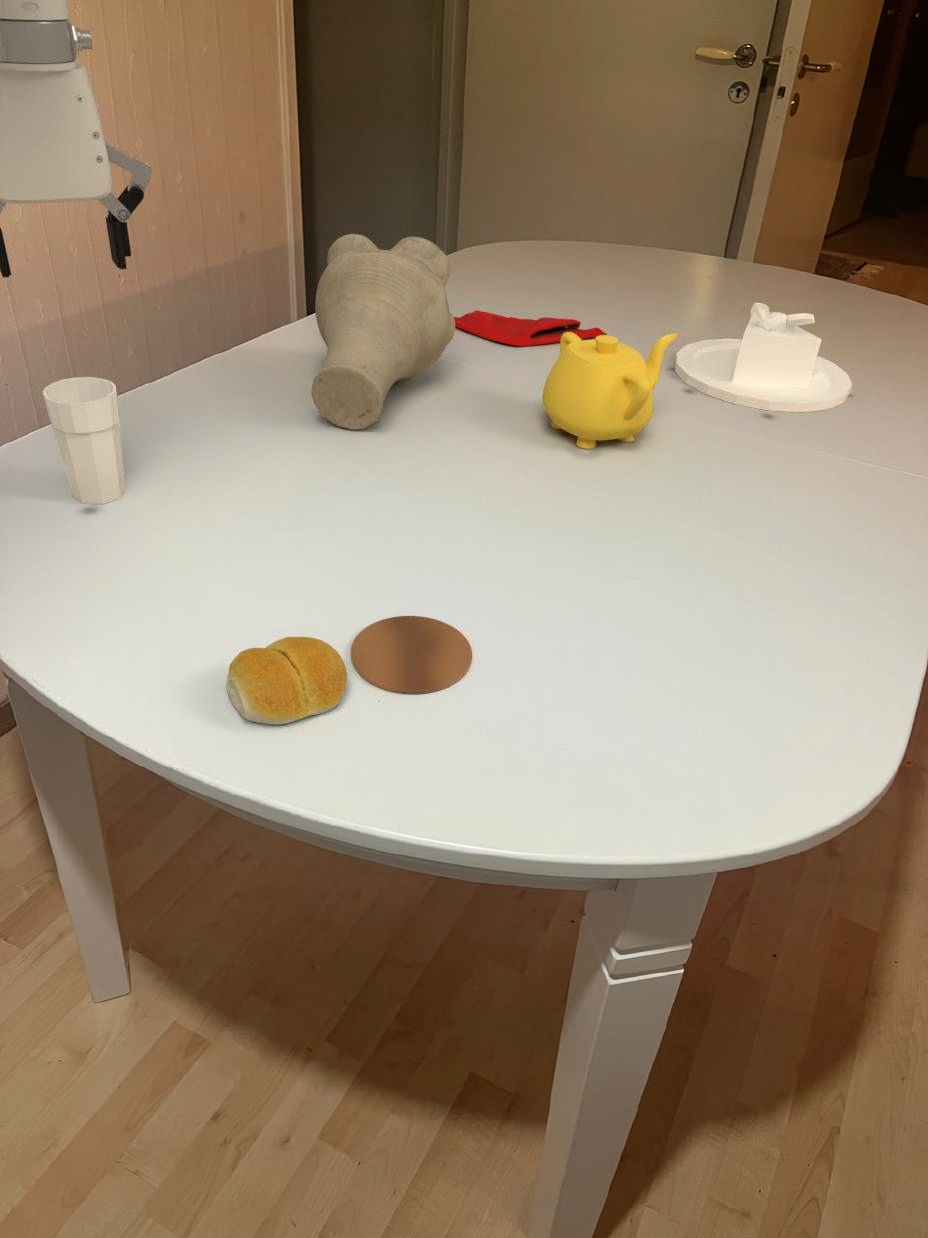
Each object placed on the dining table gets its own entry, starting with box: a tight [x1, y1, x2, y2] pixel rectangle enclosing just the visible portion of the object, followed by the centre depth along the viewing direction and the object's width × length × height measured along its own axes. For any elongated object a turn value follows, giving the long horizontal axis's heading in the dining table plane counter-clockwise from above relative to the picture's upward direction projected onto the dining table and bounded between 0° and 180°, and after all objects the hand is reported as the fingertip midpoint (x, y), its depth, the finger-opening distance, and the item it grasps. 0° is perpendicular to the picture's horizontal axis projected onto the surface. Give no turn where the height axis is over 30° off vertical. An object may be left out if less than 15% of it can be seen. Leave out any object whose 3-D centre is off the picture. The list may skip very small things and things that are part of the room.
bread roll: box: [225, 636, 348, 725], centre depth 71 cm, size 8×9×4 cm
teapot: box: [541, 332, 679, 450], centre depth 112 cm, size 14×14×12 cm
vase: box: [311, 233, 456, 431], centre depth 113 cm, size 22×22×28 cm
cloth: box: [453, 310, 608, 347], centre depth 143 cm, size 26×14×2 cm, turn 73°
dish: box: [674, 302, 853, 413], centre depth 131 cm, size 25×25×11 cm
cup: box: [42, 376, 127, 505], centre depth 92 cm, size 7×7×11 cm
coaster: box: [350, 615, 473, 695], centre depth 76 cm, size 10×10×1 cm
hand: (63, 268), depth 83 cm, fingers open, 9 cm apart
